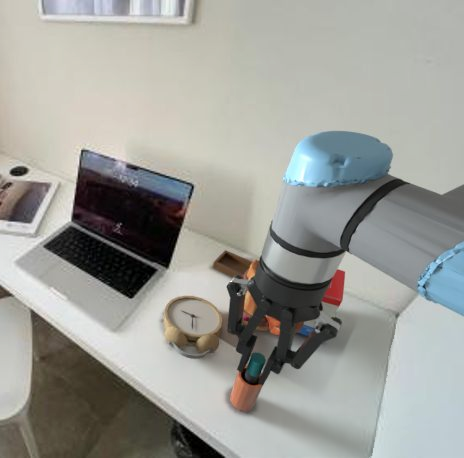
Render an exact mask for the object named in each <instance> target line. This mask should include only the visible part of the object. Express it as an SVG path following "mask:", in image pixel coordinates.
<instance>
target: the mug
mask: <svg viewBox="0 0 464 458" xmlns="http://www.w3.org/2000/svg"><path fill="white" fill-rule="evenodd" d="M258 263H259V259H254V260H253V261H252V264H251V266H250V268H249V269H248V270H247V271H246V272H245V274H244V276H241V277H242V278H243V279H245V280H250V279H251V278H252V277H253V276H254V275H255V272H256V269H257V266H258ZM256 309H257V306H256V304H255V302H254V300H253V298H252V296H251V294H250V292H249V291H247V292H246V296H245V304H244V312H243V320H242V324H244V326H246V325H247V324H248V322H249V320H250V319H251V317H252V315H253V313H254V312H255V310H256ZM303 325H304V322H301V323H296V328H295V333H294V335H296V334H297V333H298V331H299V330H300V329H301V328H302V326H303ZM279 328H280V322H279V321H278V320H276V319H275V318H273V317H270V316H267V315H265V316H264V317H263V319H262V320H261V322H260V323H259V325H258V326H257V328H256V329H255V331H259V332H264V331H268V330H269V331H270V333H271V334H273V335H275V336H278V337H279V333H280V330H279Z"/></svg>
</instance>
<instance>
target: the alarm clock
mask: <svg viewBox="0 0 464 458" xmlns="http://www.w3.org/2000/svg"><path fill="white" fill-rule="evenodd" d="M221 314H222V313H221V311H219V309H218V308H217V306H215V305H214V304H213V303H212V302H210V301H209V300H207V299H205V298H202V297H199V296H195V295H179V296H177V297H174V298H172V299H170V300H169V302H167V304H166V305H165V308H164V314H163V315H164V316H163V327H164V329H165V331H164V334H163V335H164V339H165V341H166V343H167V345H169V346H170V347H172V348H173V349H174V350H175V351H176V352H177V353H178V354H179V355H181V356H182V357H185V358H187V359H191V360H192V359H193V360H199V359H202V358H205V357H206V356H207V355H211V354H214V353H215V352H216V351H217V350H218V349H219V347H220V339H219V337H220V333H221V328H222V323H223V317H222V315H221ZM186 346H188V347H191V348H195V349H196V350H197V352H198V353H199V354H193V353H188V352H185V351H183V350H182V349H183V348H185V347H186Z"/></svg>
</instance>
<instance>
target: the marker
mask: <svg viewBox="0 0 464 458" xmlns="http://www.w3.org/2000/svg"><path fill="white" fill-rule="evenodd" d="M266 363H267V358H266V357H265V355H264V354H262V353H260V352H258V351H257V352H252V353H251V356H250V359H249V361H248V363H247V365H246V366H247V371H246V373H245V376H244V379H243V380H244V381H245V382H246V383H248V384H250V385H253V386H255V384H256V381H257V379H258V377H259V375H260V374H261V373H262V372H263V370H264V368H265V365H266Z"/></svg>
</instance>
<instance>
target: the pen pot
mask: <svg viewBox="0 0 464 458" xmlns="http://www.w3.org/2000/svg"><path fill="white" fill-rule="evenodd" d="M247 366H248V365H246V366H245V368H244V370H243V371H242V373H241V372H240V371H238V370H237V374H236V377H235V379H234V383H233V386H232V389H231V391H230V393H229V400H230V403H231V405H232V406H233V408H235V409H236V410H237V411H240V412H243V413H244V412H245V413H247V412H251V410H253V409H254V407H255V404H256V402H257V400H258V398H259V396H260V394H261V391H262V389H263V387H264V385H261V384H260V383H258V382H259V379H260V377H261V375H262V372H261V374H260V375H259V377H258V379H257V381H256V384H255V386H253V385H250V384H248V383H246V382H245V381H244V380H243V379H244V376H245V373H246V371H247Z"/></svg>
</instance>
